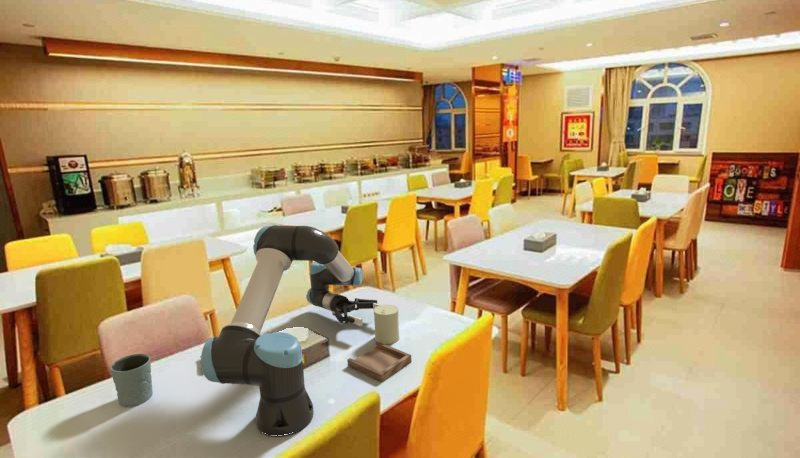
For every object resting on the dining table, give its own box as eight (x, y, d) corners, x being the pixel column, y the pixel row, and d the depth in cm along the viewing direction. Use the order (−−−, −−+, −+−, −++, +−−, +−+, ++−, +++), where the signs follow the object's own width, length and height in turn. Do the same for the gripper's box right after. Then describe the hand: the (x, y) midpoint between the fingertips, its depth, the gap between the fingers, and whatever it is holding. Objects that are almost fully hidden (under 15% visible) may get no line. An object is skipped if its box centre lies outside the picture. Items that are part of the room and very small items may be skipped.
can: (371, 342, 158) (369, 312, 155) (379, 331, 167) (378, 302, 164) (395, 345, 156) (394, 314, 153) (402, 333, 164) (401, 304, 161)
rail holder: (381, 382, 133) (381, 374, 133) (347, 366, 143) (347, 359, 142) (411, 361, 145) (411, 354, 144) (378, 348, 154) (378, 341, 153)
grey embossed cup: (121, 392, 132) (114, 357, 129) (159, 385, 135) (152, 350, 133) (113, 412, 123) (105, 374, 120) (153, 403, 126) (146, 366, 123)
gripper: (358, 302, 188) (395, 314, 174) (312, 322, 169) (350, 337, 156) (357, 285, 186) (394, 296, 173) (311, 304, 167) (349, 318, 154)
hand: (374, 316), depth 164 cm, fingers open, 13 cm apart
